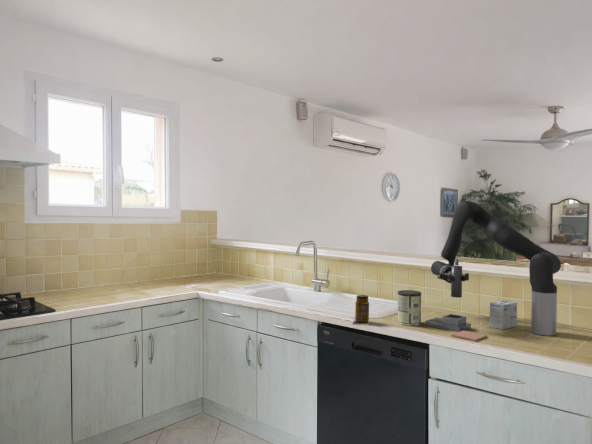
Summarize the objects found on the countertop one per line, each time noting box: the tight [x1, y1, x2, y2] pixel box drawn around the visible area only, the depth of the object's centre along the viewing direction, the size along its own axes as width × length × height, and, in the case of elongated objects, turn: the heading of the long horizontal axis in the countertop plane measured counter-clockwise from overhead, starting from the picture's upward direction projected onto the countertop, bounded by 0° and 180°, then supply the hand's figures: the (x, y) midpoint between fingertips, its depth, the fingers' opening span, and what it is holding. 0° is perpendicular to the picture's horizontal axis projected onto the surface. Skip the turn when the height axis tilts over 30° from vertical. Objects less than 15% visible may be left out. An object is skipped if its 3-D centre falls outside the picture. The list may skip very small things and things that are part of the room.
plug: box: [450, 258, 463, 298], centre depth 195 cm, size 4×4×16 cm
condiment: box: [352, 294, 371, 326], centre depth 205 cm, size 7×8×12 cm
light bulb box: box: [489, 299, 518, 330], centre depth 200 cm, size 11×7×11 cm, turn 123°
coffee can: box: [397, 289, 422, 327], centre depth 205 cm, size 10×10×14 cm
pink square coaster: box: [450, 330, 488, 342], centre depth 182 cm, size 10×10×1 cm
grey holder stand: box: [424, 313, 472, 333], centre depth 199 cm, size 10×16×5 cm, turn 43°
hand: (458, 278), depth 192 cm, fingers closed on plug, 4 cm apart
